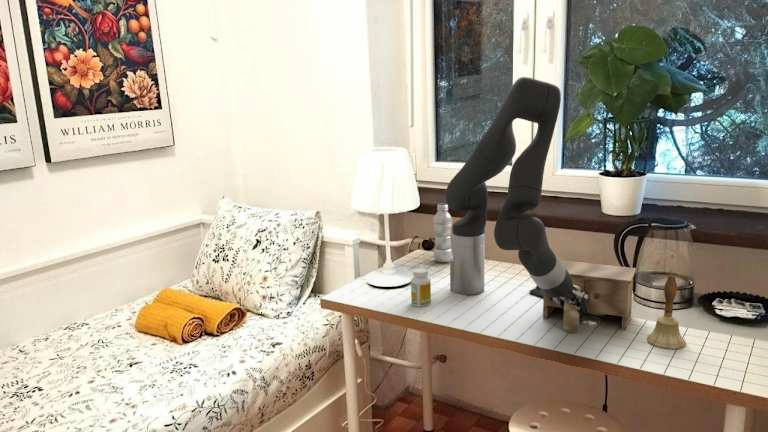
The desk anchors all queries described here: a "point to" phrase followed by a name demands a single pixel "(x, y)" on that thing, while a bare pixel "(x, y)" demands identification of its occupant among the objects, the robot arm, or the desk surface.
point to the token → (590, 321)
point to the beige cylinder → (573, 317)
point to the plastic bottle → (442, 234)
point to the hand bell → (667, 322)
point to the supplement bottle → (420, 288)
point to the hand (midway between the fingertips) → (575, 310)
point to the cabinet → (601, 289)
